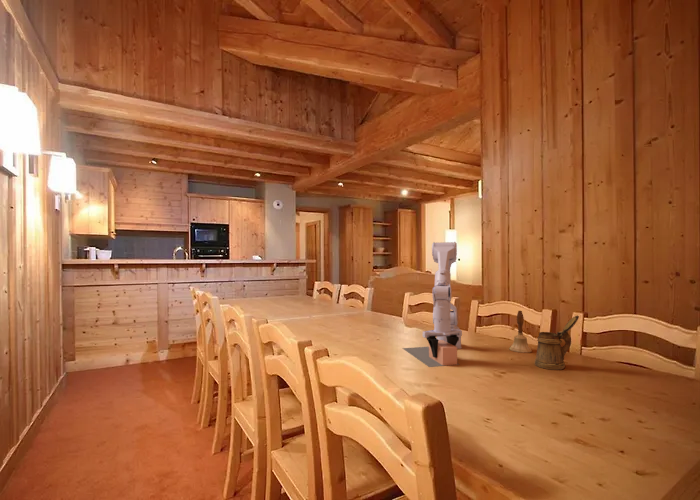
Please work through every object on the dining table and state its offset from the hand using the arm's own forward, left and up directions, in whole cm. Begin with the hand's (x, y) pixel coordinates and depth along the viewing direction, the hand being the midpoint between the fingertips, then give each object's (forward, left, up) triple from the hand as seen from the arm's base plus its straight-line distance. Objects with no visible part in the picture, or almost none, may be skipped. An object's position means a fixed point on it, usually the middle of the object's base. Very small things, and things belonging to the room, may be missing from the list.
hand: (442, 356), depth 127 cm
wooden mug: (-36, +14, -2) cm, 38 cm away
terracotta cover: (0, 0, -1) cm, 1 cm away
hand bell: (-39, -8, -2) cm, 39 cm away
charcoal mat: (+2, -7, -2) cm, 7 cm away
